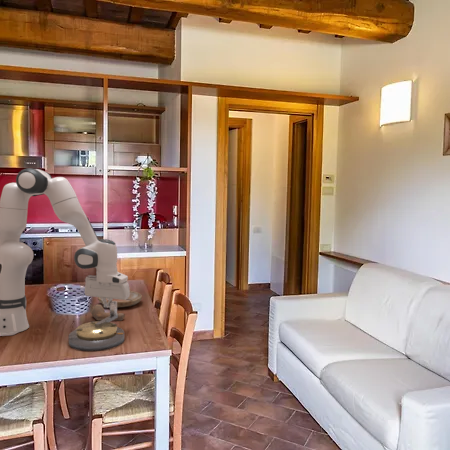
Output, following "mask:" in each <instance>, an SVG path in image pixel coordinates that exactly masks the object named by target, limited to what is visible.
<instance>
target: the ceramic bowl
mask: <svg viewBox="0 0 450 450" xmlns="http://www.w3.org/2000/svg"><path fill="white" fill-rule="evenodd" d="M96 298H97V300H98V302H99V303H101V305H104V304H103V302H102V300H101V297H96ZM142 298H143V295H142V294H141V292H138V291H134V290H133V291H132V290H130V296H129V297H128V298H127V299H125V300H122V299H113V300H112V301H117V308H128V307H131V306H135V305H137V304H138V303H140V302H141V301H142ZM108 301H109V300H108V298H106V302H107V303H108Z"/></svg>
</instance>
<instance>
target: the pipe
mask: <svg viewBox="0 0 450 450" xmlns="http://www.w3.org/2000/svg"><path fill="white" fill-rule="evenodd" d="M105 311H106V310H105V307H104V305H103V304H99V303H97V304H94V305H93V306H92V308H91V310H90V314H91V316H92V317H93V318H94V319H95V320H96V321H101V320H103V319H105V318H107V317H109V316H110V312H105ZM117 314H118V317H117V318H116V319H114V320H112V321H114V322H119V321H120V322H122V320H123V321H124V319H125V317H126V314H125V313H122V312H121V313H118V312H117ZM112 321H111V322H112Z"/></svg>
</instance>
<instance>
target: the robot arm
mask: <svg viewBox="0 0 450 450" xmlns="http://www.w3.org/2000/svg"><path fill="white" fill-rule="evenodd" d="M76 193H77V192H76V191H75V190H74V188H73V186H72V185H71V183H70V181H69V180H68V178H65V177H63V176H56V177H52V176H51V174H50V173H49V172H47V171H44V170H42V169H39V168H31V167H29V168H24V169H21V170H20V171H19V172H18V173H17V174H16V178H15V182H9V183H6V184H5V185H4V186H3V188H2V191H1V195H0V265H1V267H0V268H1V269H0V337H1V336H2V337H5V336H14V335H16V334H18V333H20V332H21V333H22V332H23V331H26V330H27V329H28V328H30V325H29V321H28V316H27V311H26V310H27V297H26V296H27V295H26V294H25V293H26V291H25V290H26V288H25V286H26V284H25V281H26V279H25V278H26V274H27V271H28V268H29V266H30V265H31V263H32V262H33V259H34V251H33V248H31V247H30V246H29V245H28V244H26V243H24V242H21V241H20V239H21V235H22V234H23V232H24V231H25V230H26V228H27V224H28V223H27V221H28V210H29V209H28V208H29V201H30V198H31V197H39V196H42V195H45V196H46V197H47V198H48V200H49V202H50V205H51V207H52V209H53V212H54V214H55V216H56V217H57V218H58V219H59V220H60V221H61V222H63V223H66V224H68V225H70V226H72V227H74V228H75V229H76V230H77V232H78V233H79V235H80V236H81V237H80V238H81V239H82V241H83V243H84V246H83V247H81V248H79V249H77V250H76V251H75V253H74V255H73V261H74V263H75V265H76V266H77V267H78V268H80V269H83V270H88V269H89V270H90V269H95V270H96V275H92V274H88V275H87V276H86V277H85V283H84V284H85V286H84V295H85V296H86V297H94V298H97V297H101V300H102V302H103V304H102V305H103V308H107V309H108V308H109V309H110V302H111V301H112V300H113V299H122V300H125V299H127V298H128V297H129V296H130V291H131V290H130V285H129V282H128V280H129V277H128V275H126V274H124V273H122V272H119V271H118V266H117V263H118V248H117V244H116V242H115V241H114V240H111V239H108V238H107V239H106V238H101V239H100V238H99V237H98V236H97V233H96V231H95V230H94V228H93V225H92V224H91V221H90V220H89V218H88V216H87V215H86V213H85V211H84V209H83V207H82V205H81V203H80V201H79V198H78V196H77V194H76ZM106 298H108V300H109V301H108V303H107V302H106Z"/></svg>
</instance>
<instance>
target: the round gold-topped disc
mask: <svg viewBox="0 0 450 450" xmlns="http://www.w3.org/2000/svg"><path fill="white" fill-rule="evenodd" d="M109 313H110V316H109V317H107V318H105V319H103V320H101V321H100V320H96V321H95V320H93V321H90V322H84V323H82V324H80V325H78V326H77V327H76V328H75V330H76V336H77V337H78V338H79V339H82V340H88V341H98V340H105V339H109V338H111V337H114V336H115V335H116V334H117V327H118V324H116V323H115V322H112V320H114V319H116V318H117V317H118V314H117V313H118V307H117V301H111V302H110V307H109Z"/></svg>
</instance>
